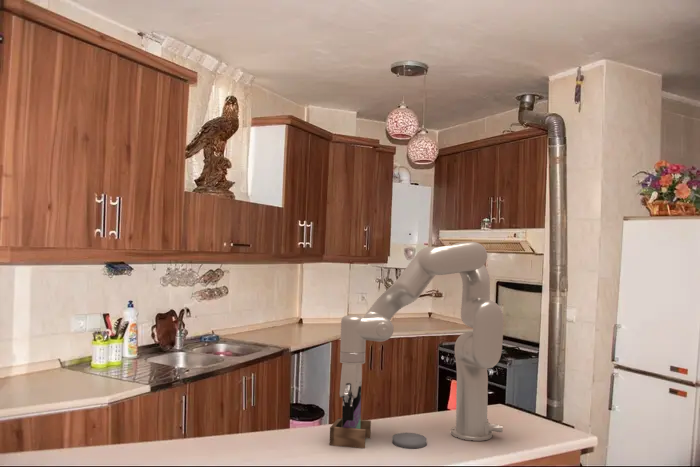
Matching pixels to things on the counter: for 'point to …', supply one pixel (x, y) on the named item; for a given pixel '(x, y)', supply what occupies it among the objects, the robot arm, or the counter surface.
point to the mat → (409, 440)
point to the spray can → (357, 412)
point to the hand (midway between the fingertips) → (351, 415)
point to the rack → (349, 434)
